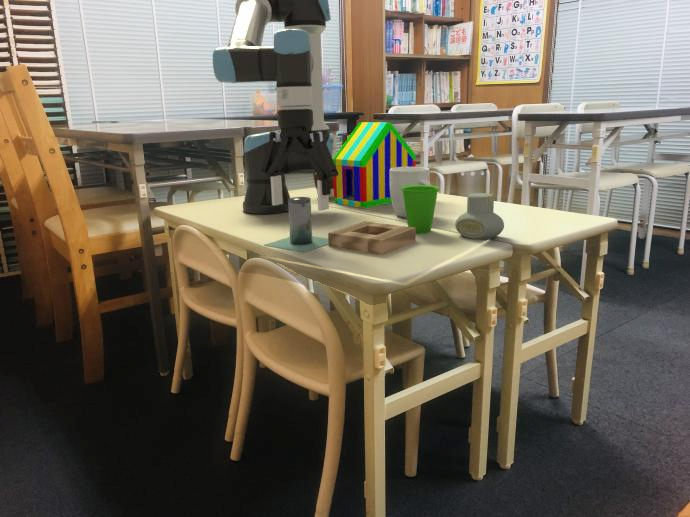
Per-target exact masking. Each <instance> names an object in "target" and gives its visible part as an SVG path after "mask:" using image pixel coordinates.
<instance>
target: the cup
mask: <svg viewBox="0 0 690 517" xmlns="http://www.w3.org/2000/svg"><path fill="white" fill-rule="evenodd" d="M401 190H403V197H404V203H405V210H406V217H407V218H406V224H407V227H414V228H416V234H428V233H431V231H432V226H433V220H434V213H435V210H436V209H435V208H436V204H437V203H436V202H437V196H438V191H439V190H440V187H439V186H435V185H432V186H430V185H412V186H405V187H402V188H401Z"/></svg>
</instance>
